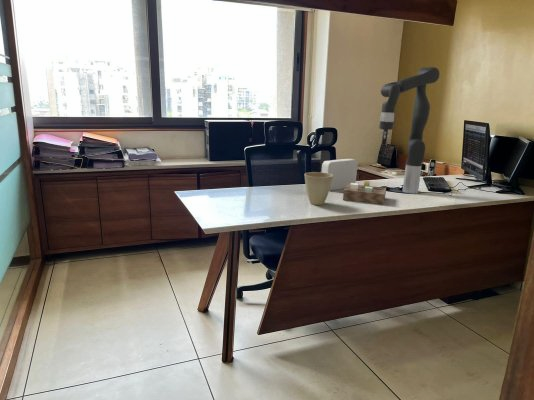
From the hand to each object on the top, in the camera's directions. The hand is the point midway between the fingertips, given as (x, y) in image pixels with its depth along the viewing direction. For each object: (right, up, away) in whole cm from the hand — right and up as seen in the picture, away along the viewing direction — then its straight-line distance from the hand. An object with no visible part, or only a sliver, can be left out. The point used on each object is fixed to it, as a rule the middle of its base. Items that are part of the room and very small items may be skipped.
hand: (383, 151), depth 219 cm
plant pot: (-41, -30, -15) cm, 53 cm away
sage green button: (-11, -26, -6) cm, 29 cm away
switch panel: (-11, -28, -1) cm, 30 cm away
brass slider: (-9, -21, +2) cm, 23 cm away
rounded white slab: (-21, -21, +26) cm, 40 cm away
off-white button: (-18, -24, -4) cm, 30 cm away
